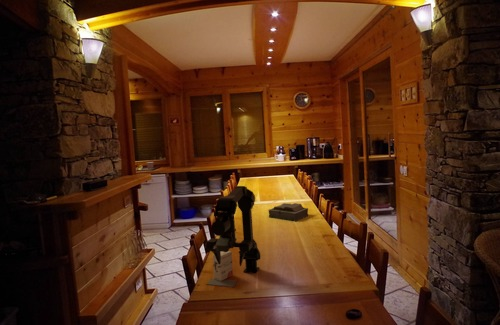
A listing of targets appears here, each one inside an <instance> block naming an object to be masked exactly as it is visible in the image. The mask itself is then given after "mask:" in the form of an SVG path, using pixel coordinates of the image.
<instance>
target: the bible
mask: <svg viewBox="0 0 500 325" xmlns="http://www.w3.org/2000/svg"><path fill="white" fill-rule="evenodd" d="M306 217H309V208H307V207H303V206H302V204H301V203H297V202H296V203H295V202H294V203H285V202H284V203H281V204H280V205H277V206H274V207H273V208H270V209H268V218H271V219H276V220H282V221H283V220H284V221H288V222H298V221H300V220H302V219H304V218H306Z"/></svg>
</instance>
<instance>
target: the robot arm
mask: <svg viewBox="0 0 500 325" xmlns="http://www.w3.org/2000/svg"><path fill="white" fill-rule="evenodd" d="M255 201H256V195H255V194H254V192H253V191H252V190H251V189H249V188H247V186H245V185H237V186H236V185H235V186H234V189H233V190H231V192H229V194H227V195H223V196H221V197H218V199H217V200H216V203H215V208H214V213H213V216H214V217H215V220H214V221H213V222H212V224H211V225H210V230H211V232H212V234H213V235H215V236H218V238H212V237H211V238H209V239H208V240H207V241H205V243H204V244H205V245H204V246H205V250H208V251H209V252H211V253H213V255H215V257H216V259H217V261H218V264H220V263H221V254H220V252H221V251H222V252H228V251H230V249H234V248H238V250H239V251H238V254H239V260H238V261H239V262H238V263H239V266H240V267H241V266H242V265H243V261H244V260H245V267H244V270H243V271H242V272H243V273H245V274H247V273H248V274H257V273H258V271H259V269H260V266H258V261H259V260H261V251H260V249H259V248H258V242H256V240H255V238H254V234H253V233H254V232H253V216H252V215H253V214H252V210H253V209H254V208H253V207H254V206H255ZM237 208H238V209H239V210H240V212H241V222H242V235H243V239H242V241H240V242H237V241H238V240H237V238H236V232H237V229H236V227H235V226H236V225H235V224H236V222H235V215H236V211H237Z"/></svg>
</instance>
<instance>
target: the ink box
mask: <svg viewBox="0 0 500 325" xmlns="http://www.w3.org/2000/svg"><path fill="white" fill-rule="evenodd" d="M232 252H233V251H231V250H229V251H228V252H222V251H220V254H221V263H220V264H218V261H217V259H216V257H215V255H214V254H212V263H213V264H212V268H213V279H216V280H219V281H222V280H227V278H230V277H232V276H233V275H234V272H233V270H234V269H233V253H232Z"/></svg>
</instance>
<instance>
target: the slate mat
mask: <svg viewBox="0 0 500 325" xmlns="http://www.w3.org/2000/svg"><path fill="white" fill-rule="evenodd" d="M236 284H238V280H229V279H224V280H222V281H219V280H216V279H214V278H210V279H209V281H208V282H207V283H206V286H207V285H208V286H219V287H227V288H234V287H235V286H236Z"/></svg>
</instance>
